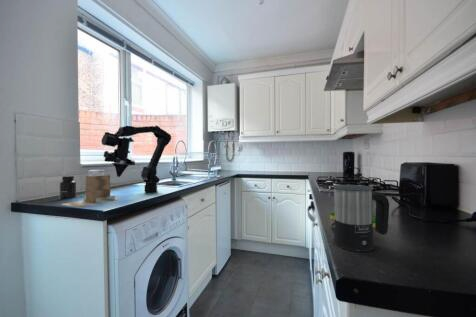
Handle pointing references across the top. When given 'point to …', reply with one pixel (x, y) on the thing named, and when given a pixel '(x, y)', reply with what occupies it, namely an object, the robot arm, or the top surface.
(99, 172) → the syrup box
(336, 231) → the milk frother
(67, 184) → the supplement bottle
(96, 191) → the block
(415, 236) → the top surface
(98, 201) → the chute
